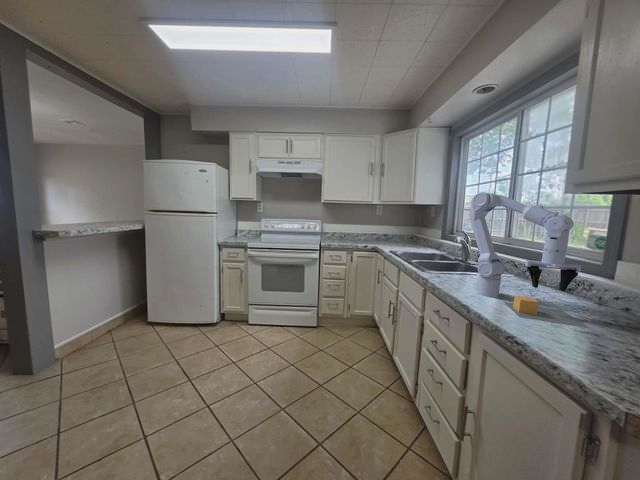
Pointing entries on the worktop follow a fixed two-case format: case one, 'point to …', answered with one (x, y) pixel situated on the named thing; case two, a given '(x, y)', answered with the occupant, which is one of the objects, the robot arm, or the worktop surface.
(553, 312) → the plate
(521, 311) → the orange block
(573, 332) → the worktop surface
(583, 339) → the worktop surface
